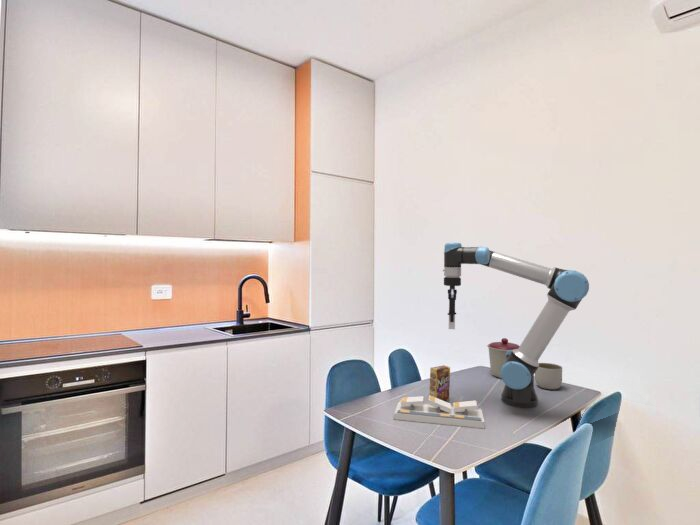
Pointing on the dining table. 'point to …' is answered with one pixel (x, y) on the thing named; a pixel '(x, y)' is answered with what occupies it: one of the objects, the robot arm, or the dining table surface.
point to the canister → (499, 355)
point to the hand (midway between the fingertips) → (451, 328)
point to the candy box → (440, 382)
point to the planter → (548, 376)
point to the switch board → (439, 416)
